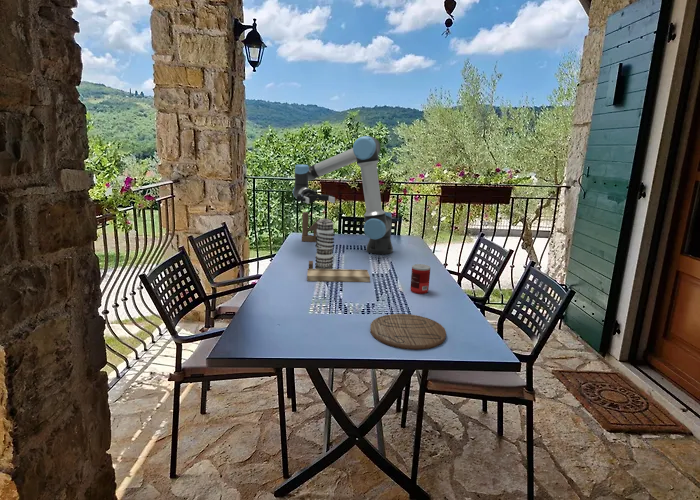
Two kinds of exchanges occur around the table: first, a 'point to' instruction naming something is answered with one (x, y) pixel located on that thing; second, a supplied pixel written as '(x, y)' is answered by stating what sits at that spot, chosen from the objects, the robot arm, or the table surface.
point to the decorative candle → (324, 244)
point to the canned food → (420, 278)
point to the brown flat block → (310, 264)
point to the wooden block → (305, 229)
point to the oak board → (338, 275)
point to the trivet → (408, 331)
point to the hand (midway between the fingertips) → (321, 200)
